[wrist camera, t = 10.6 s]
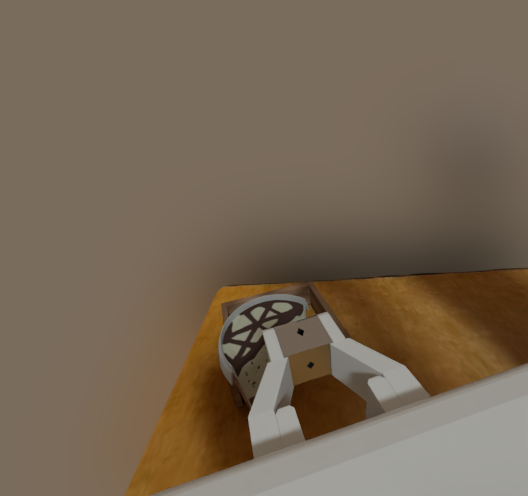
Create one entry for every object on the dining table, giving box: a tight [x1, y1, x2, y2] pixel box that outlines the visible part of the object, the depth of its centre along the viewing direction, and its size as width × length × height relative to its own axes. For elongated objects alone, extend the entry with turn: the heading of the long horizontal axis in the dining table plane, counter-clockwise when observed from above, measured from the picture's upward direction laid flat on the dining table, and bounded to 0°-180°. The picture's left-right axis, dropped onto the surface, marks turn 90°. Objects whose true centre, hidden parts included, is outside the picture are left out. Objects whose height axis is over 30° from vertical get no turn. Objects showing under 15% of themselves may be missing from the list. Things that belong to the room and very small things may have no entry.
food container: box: [218, 294, 309, 411], centre depth 30 cm, size 12×6×10 cm, turn 136°
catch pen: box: [222, 281, 351, 407], centre depth 36 cm, size 15×14×4 cm
